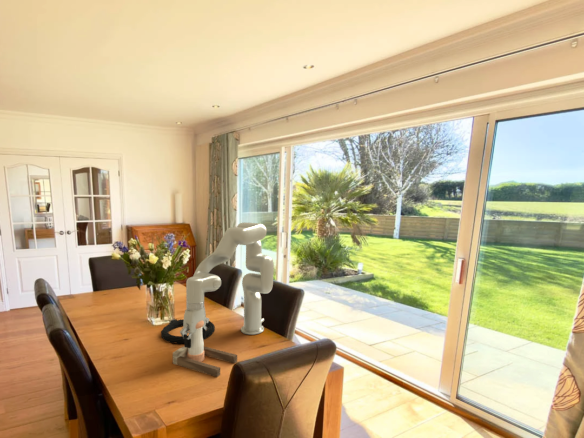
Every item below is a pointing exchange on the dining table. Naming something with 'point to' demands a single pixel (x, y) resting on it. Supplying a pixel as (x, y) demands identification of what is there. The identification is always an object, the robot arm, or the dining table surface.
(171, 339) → the cable lock
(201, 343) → the pepper shaker
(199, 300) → the robot arm
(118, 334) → the dining table surface
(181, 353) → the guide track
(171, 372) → the dining table surface
